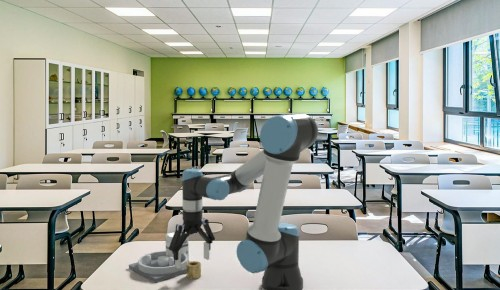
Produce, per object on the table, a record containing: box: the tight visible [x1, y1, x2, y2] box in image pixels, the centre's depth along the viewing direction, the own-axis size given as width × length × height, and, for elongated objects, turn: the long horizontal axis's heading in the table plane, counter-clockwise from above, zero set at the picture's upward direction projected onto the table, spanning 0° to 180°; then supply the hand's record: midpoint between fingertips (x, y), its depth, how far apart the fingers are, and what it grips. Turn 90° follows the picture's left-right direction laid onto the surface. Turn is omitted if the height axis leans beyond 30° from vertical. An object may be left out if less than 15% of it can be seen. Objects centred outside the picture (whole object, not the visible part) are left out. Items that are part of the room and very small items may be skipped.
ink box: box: [165, 231, 190, 261], centre depth 195 cm, size 8×5×12 cm, turn 123°
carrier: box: [128, 250, 191, 284], centre depth 187 cm, size 20×20×6 cm
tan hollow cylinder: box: [186, 260, 202, 280], centre depth 179 cm, size 5×5×5 cm
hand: (192, 263), depth 179 cm, fingers open, 13 cm apart
